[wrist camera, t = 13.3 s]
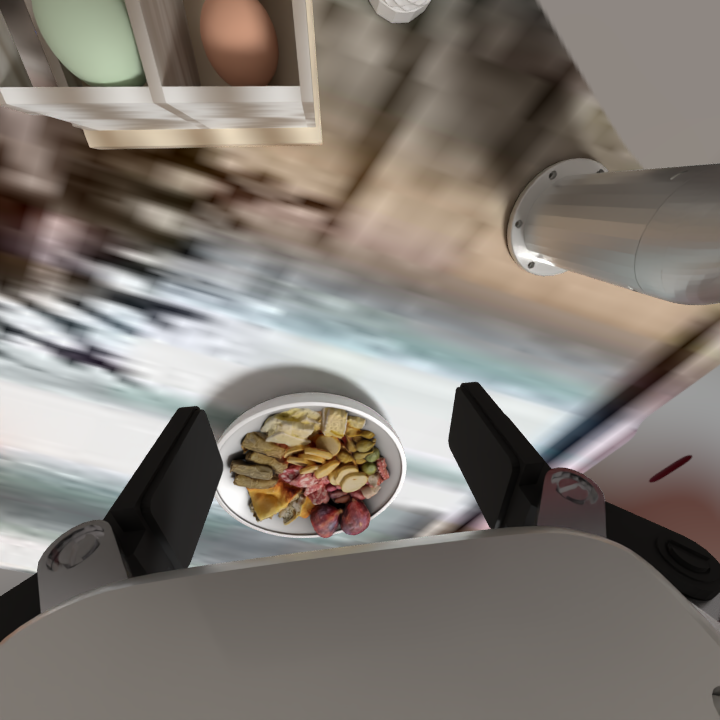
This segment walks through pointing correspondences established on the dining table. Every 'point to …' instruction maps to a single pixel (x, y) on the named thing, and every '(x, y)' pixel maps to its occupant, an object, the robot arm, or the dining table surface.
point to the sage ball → (92, 40)
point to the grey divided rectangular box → (180, 86)
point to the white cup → (399, 9)
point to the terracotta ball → (239, 41)
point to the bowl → (309, 466)
